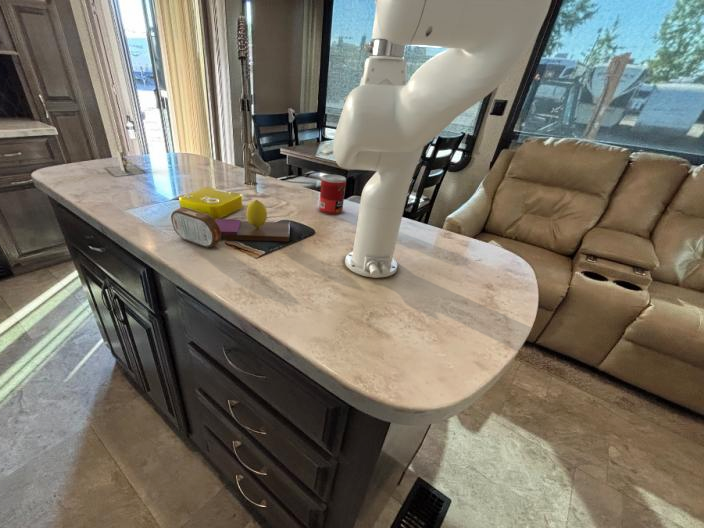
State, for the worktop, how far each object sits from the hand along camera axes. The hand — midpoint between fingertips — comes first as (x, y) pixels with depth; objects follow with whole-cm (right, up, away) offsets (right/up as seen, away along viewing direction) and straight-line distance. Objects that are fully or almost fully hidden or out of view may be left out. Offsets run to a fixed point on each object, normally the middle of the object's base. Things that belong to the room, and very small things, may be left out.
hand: (373, 137), depth 82 cm
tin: (-45, -26, +4) cm, 52 cm away
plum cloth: (-39, -20, +9) cm, 45 cm away
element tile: (-47, -11, +25) cm, 54 cm away
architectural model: (-94, +14, +57) cm, 111 cm away
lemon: (-31, -21, +10) cm, 38 cm away
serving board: (-33, -22, +10) cm, 41 cm away
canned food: (-8, -11, +29) cm, 32 cm away
